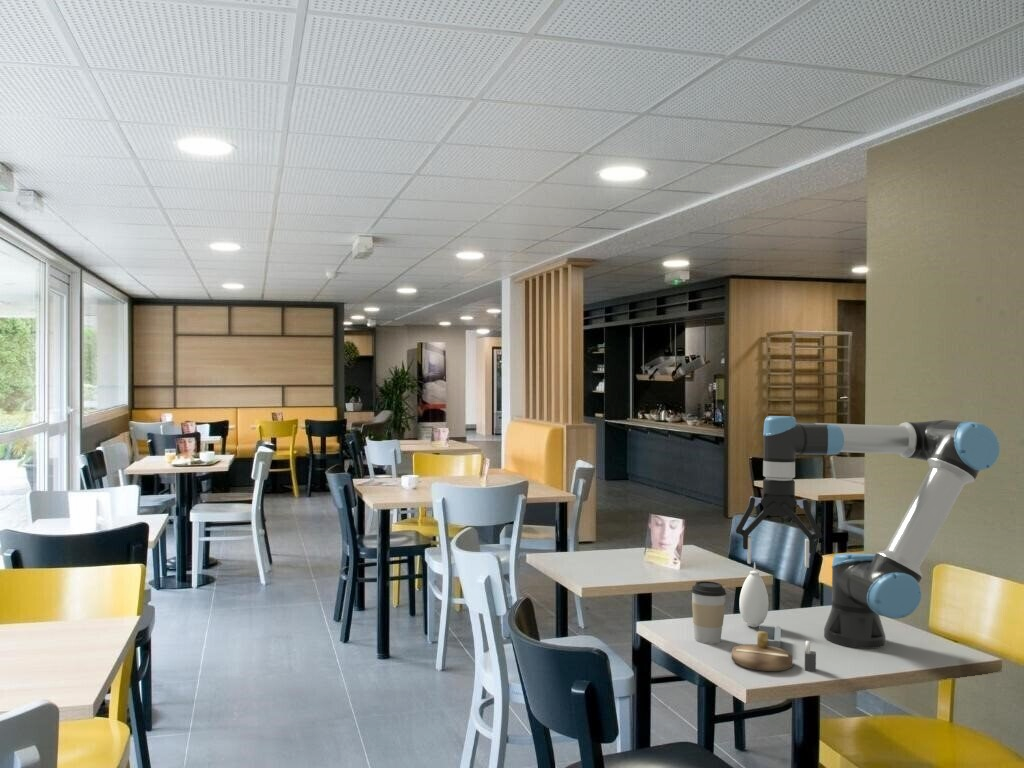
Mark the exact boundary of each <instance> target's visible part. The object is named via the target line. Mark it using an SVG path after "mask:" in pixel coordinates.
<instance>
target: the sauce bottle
mask: <svg viewBox="0 0 1024 768" xmlns="http://www.w3.org/2000/svg"><path fill="white" fill-rule="evenodd" d="M756 568H757V567H756V562H754V564H753V570H750V571H749V574H748V576H747V577H746V578H745V580H744V582H743V584H742V588H741V590H740V594H739V600H738V601H739V602H738V603H739V606H738V607H739V613H740V615H741V618H742V620H743V621H744V623H746V625H748V626H750V627H749V628H758V627H759V625H762V624H763V623H764V622H765V620H766V618H767V616H768V614H769V613H768V611H769V595H768V591H767V587H766V585H765V582H764V580H763V578H762V577H761V575H760V571H757V570H756Z"/></svg>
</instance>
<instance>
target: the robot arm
mask: <svg viewBox="0 0 1024 768" xmlns="http://www.w3.org/2000/svg"><path fill="white" fill-rule="evenodd" d="M762 436H763V461H762V476H763V477H764V478H763V480H762V497H755V496H754V495H753V496H752V495H751V496H750V497H749V501H748V502H749V503H748V505H747V508H746V510H745V511H744V513H743V515H742V517H741V518H740V520H739V522H738V524H737V525H736V528H735V533H736V534H738V535H741V536H742V548H743V550H747V559H746V560H747V564H749V565H751V563H752V535H750V534H751V533H752V532H753V531H754V530H755V529H756V527H758V526H759V524H760V523H761V522H763V520H764V519H766V518H767V516H768V515H769V516H771V517H782V518H785V517H787V516H789V517H790V518H791V519H792V520H793V522H794V523H795V524H796V525H797V526H798V528H799V529H800V530H801V531H802V532H803V533H804V535H805V536H806V537H807V538H805V539H804V567H805V568H810V554H814V552H815V540H817V539H822V537H823V535H822V532H821V531H820V528H819V527H818V524H817V522H816V520H815V518H814V516H813V514H812V512H811V511H810V507H809V500H808V499H807V498H802V499H796V492H795V490H796V482H795V481H796V480H794V478H795V477H796V455H813V456H815V455H816V456H819V455H821V456H823V455H825V456H831V455H838V454H840V453H860V454H861V453H862V454H883V455H884V454H887V455H889V454H891V455H899V456H900V457H901V458H904V459H916V460H922V461H926V462H927V463H928V466H929V470H928V471H927V474H926V475H925V477H924V479H923V481H922V483H921V484H920V486H919V488H918V490H917V492H916V493H915V495H914V497H913V499H912V501H911V503H910V505H909V506H908V508H907V510H906V512H905V514H904V515H903V517H902V519H901V521H900V524H898V526H897V528H896V530H895V532H894V533H893V536H892V537H891V539H890V541H889V543H888V545H887V547H886V549H885V550H880V551H876V554H875V553H874V554H873V553H858V552H854V553H851V552H848V553H847V552H845V553H841V552H840V553H836V554H834V555H833V558H832V565H831V569H832V570H831V572H832V575H831V577H832V578H831V580H832V581H831V610H830V611H829V612H830V613H829V615H828V616H827V621H826V623H825V625H824V628H823V630H824V631H823V632H824V633H823V637H824V639H826V640H827V641H828V642H831V643H834V644H836V645H837V644H838V645H841V646H844V647H850V648H858V649H877V648H882V647H884V646H886V633H885V631H884V630H885V629H884V626H883V623H882V620H881V617H885V618H888V619H895V620H898V619H902V618H906V617H908V616H910V615H911V614H912V613H914V612H915V611H916V610H917V609H918V607H919V605H920V603H921V600H922V592H921V590H922V588H921V585H920V582H921V580H922V578H923V573H922V571H921V566H922V564H923V562H924V560H925V559H926V556H927V555H928V553H929V551H930V549H931V547H932V545H933V544H934V542H935V540H936V538H937V536H938V535H939V532H940V531H941V528H943V525H944V524H945V522H946V520H947V518H948V516H949V514H950V513H951V510H952V508H953V507H954V504H955V503H956V501H957V499H958V497H959V495H960V493H961V492H962V490H963V488H964V486H966V485H968V484H971V483H974V482H975V481H976V478H977V477H978V475H979V473H980V471H984V470H987V469H990V468H991V467H993V466H994V465H996V464H995V463H996V462H997V461H998V459H999V456H1000V451H1001V449H1000V448H1001V447H1000V442H999V441H998V436H997V435H996V433H995V432H994V430H992V428H990V427H989V426H987V425H986V424H984V423H980V422H975V421H971V420H967V421H966V420H965V421H959V420H947V419H946V420H945V419H939V420H927V421H918V422H917V421H916V422H915V421H914V422H910V421H909V422H907V421H905V422H902V423H899V425H888V424H887V425H886V424H884V425H883V424H857V423H856V424H855V423H852V424H851V423H824V422H797V421H796V417H794V416H789V415H788V416H787V415H768V416H766V418H765V419H764V424H763V433H762ZM759 504H761V506H763V510H762V511H761V512H760V513H759V514H758V516H756V517H755V518H754V519H753V521H751V523H750V524H749V525H748V526H747V527H746V528H745V529H744V527H745V525H746V523H747V521H748V519H749V518H750V516H751V514H752V512H753V511H754V508H755V507H757V506H758V505H759ZM797 505H798V506H799V508H800V509H802V510H803V512H804V514H805V516H806V518H807V520H808V522H809V524H810V526H811V528H812V530H813V531H814V533H812V532H811V531H810V530H809V529H808V528H807V526H806V525H805V524H804V523H803V522H802V521H801V519H800V518H799V517H798V515H796V513H795V512H794V511H793V510H794V509H795V508H796V507H797ZM880 616H881V617H880Z"/></svg>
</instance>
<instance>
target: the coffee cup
mask: <svg viewBox="0 0 1024 768" xmlns="http://www.w3.org/2000/svg"><path fill="white" fill-rule="evenodd" d="M691 588H692V589H691V590H690V591H691V595H692V596H691V597H692V599H691V605H692V606H691V609H692V622H693V623H692V624H693V634H694V636H693V637H694V640H695V641H696V642H699V643H703V644H712V645H713V644H718V643H721V642H720V641H722V632H723V631H722V630H723V625H724V619H725V618H724V617H725V610H726V609H725V608H726V595H727V591H726V589H725V588H724V587H723V585H722V584H721V583H720V582H716V581H715V582H714V581H708V580H707V581H706V580H705V581H704V580H703V581H696V582H695V584H694V585H692V587H691Z"/></svg>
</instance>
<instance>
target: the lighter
mask: <svg viewBox="0 0 1024 768" xmlns="http://www.w3.org/2000/svg"><path fill="white" fill-rule="evenodd" d="M816 668H817V652H816V651H813V650H811V641H810V640H805V649H804V671H807V672H816V671H817V669H816Z"/></svg>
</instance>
